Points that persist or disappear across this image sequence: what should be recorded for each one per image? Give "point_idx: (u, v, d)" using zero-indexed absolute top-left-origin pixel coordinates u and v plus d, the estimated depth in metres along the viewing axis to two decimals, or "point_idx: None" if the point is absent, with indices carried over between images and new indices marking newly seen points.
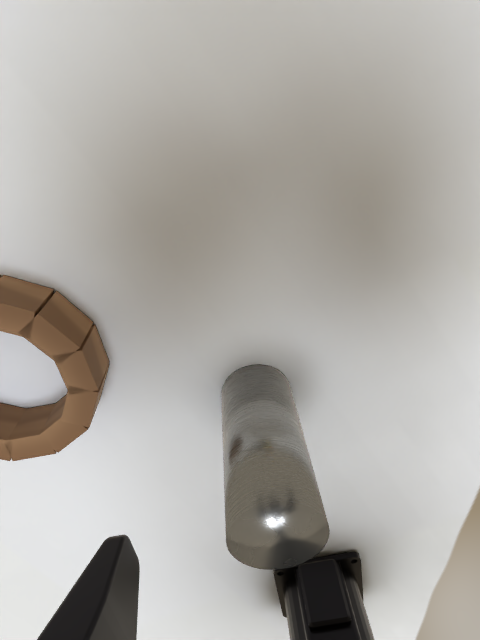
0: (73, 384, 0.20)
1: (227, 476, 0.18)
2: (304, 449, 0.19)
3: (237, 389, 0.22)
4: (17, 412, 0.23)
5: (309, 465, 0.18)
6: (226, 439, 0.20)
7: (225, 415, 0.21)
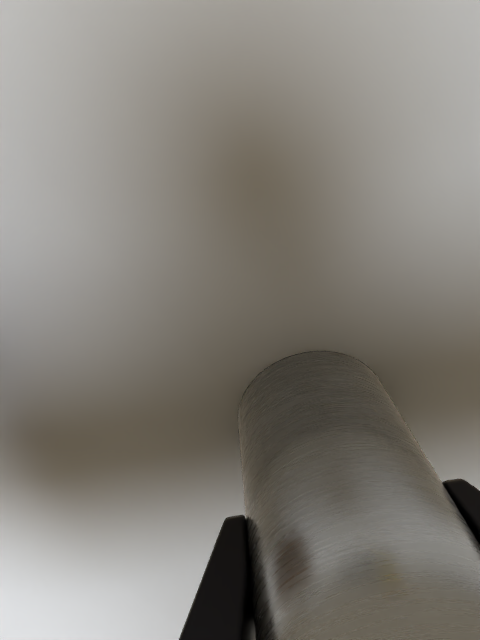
0: None
1: None
2: None
3: (280, 408, 0.09)
4: None
5: None
6: (262, 553, 0.07)
7: (253, 474, 0.09)
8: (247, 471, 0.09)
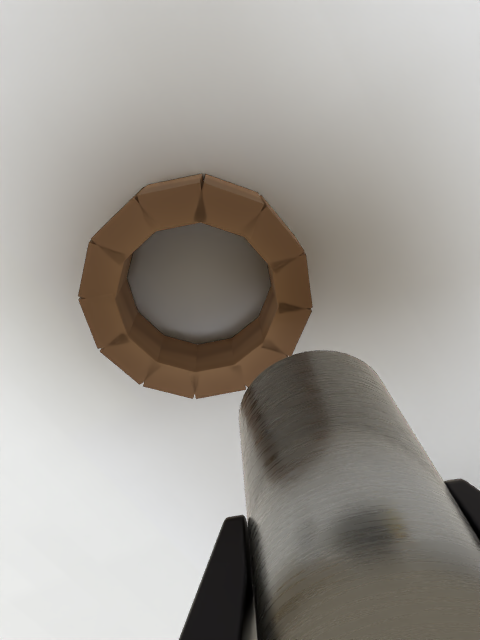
0: (286, 299, 0.17)
1: None
2: None
3: (282, 407, 0.09)
4: (191, 347, 0.20)
5: None
6: (263, 552, 0.07)
7: (255, 473, 0.09)
8: (248, 470, 0.09)
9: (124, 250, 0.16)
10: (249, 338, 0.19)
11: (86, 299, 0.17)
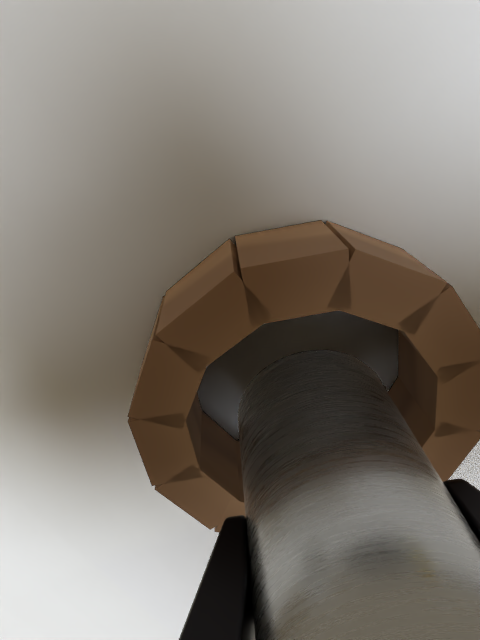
0: (450, 419, 0.11)
1: None
2: None
3: (281, 406, 0.09)
4: None
5: None
6: (262, 552, 0.07)
7: (253, 473, 0.08)
8: (247, 470, 0.09)
9: (209, 351, 0.10)
10: None
11: (140, 421, 0.11)
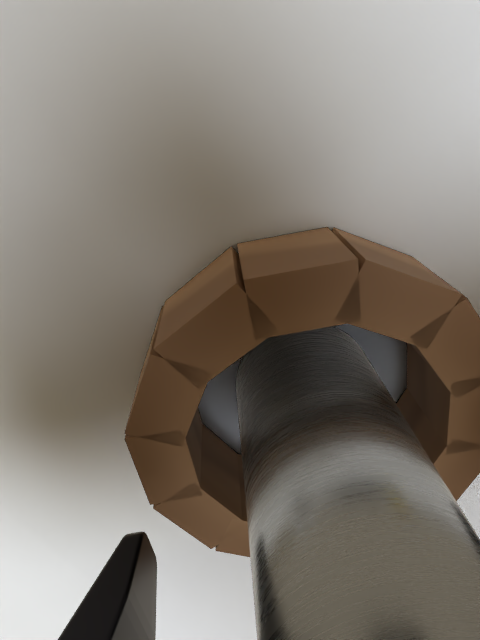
0: (463, 435, 0.11)
1: (266, 596, 0.06)
2: (463, 513, 0.07)
3: (273, 368, 0.10)
4: None
5: None
6: (255, 481, 0.08)
7: (249, 423, 0.10)
8: (243, 423, 0.10)
9: (210, 366, 0.09)
10: None
11: (138, 438, 0.10)
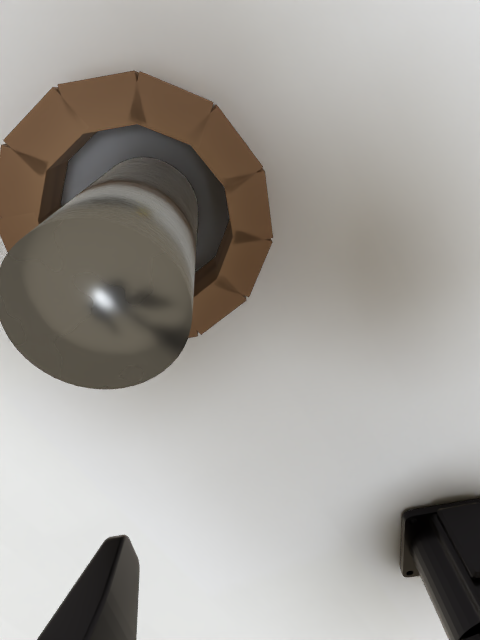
0: (242, 227, 0.15)
1: None
2: (179, 216, 0.11)
3: None
4: None
5: (179, 227, 0.11)
6: None
7: None
8: None
9: (45, 157, 0.13)
10: (203, 278, 0.17)
11: (3, 219, 0.14)
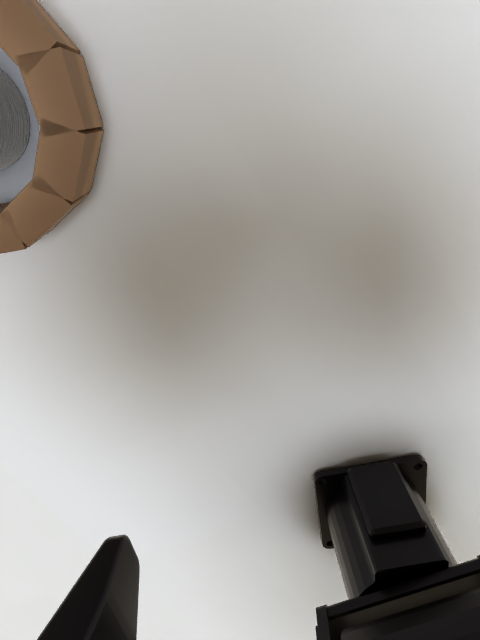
0: (48, 115, 0.14)
1: None
2: None
3: None
4: None
5: None
6: None
7: None
8: None
9: None
10: None
11: None
